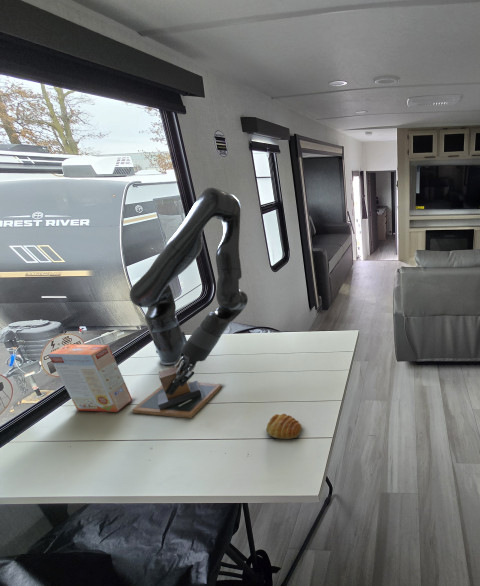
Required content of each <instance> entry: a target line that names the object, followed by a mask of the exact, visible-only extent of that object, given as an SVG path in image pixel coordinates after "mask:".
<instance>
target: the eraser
mask: <svg viewBox="0 0 480 586" xmlns="http://www.w3.org/2000/svg"><path fill="white" fill-rule="evenodd" d="M172 367H173V366H172ZM172 367H169V368H167V369H163V370H161V371H159V372H158V379H159V381H160V384H161V386H163V389H164V391H166V389H167V388H168V387H169V385H170V384H171V383H172V381H173V379H174V378H175V376H176V371H177V369H178V368H179V366H178V367H173V368H172ZM179 373H180V374H182V373H183V372H181V371H180V372H179ZM180 381H181V380H180ZM188 382H189V380H188V381H187V382H186V383H185V384H184V385H183V386H180V385H179V387H178V388H177V389H176V391H175V392H174V394H173V395H169V394H166V393H165V392H163V393H161V394H158V395H157V396H158V406H159V409H160V410H162V409H165V408H167V407H170V406H173V405H175V404H178V403H181V402H183V401H186V400H188V399H191V398H194V397H196V396H199V395H201V391H200V388H199V384H198V383H199V381H198V380H194V381H190V382H191V383H189V384H188Z"/></svg>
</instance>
